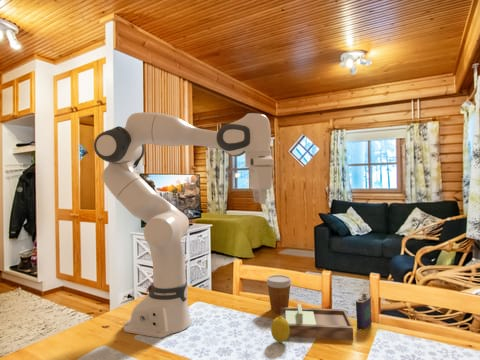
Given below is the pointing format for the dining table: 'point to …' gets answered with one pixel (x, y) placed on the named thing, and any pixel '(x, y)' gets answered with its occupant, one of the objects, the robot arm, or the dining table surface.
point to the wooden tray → (322, 324)
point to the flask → (363, 311)
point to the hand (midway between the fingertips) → (259, 203)
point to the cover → (300, 316)
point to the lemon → (280, 329)
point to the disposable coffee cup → (278, 292)
